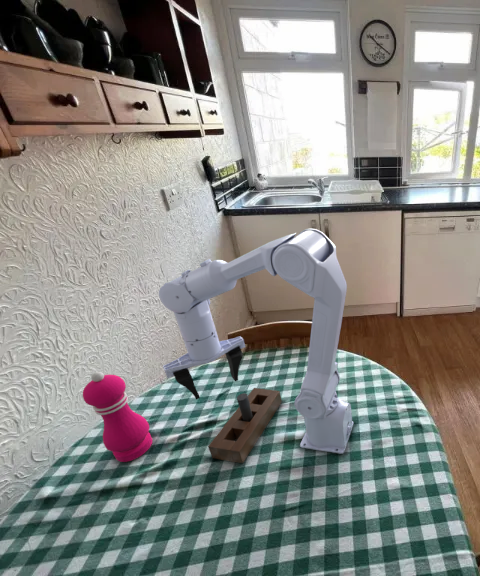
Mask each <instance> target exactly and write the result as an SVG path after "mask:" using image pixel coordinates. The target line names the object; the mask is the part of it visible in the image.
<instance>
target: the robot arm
mask: <svg viewBox="0 0 480 576" xmlns="http://www.w3.org/2000/svg"><path fill="white" fill-rule="evenodd" d="M199 266H200V267H197V268H195V269H193V270H191V269H187V270H185V271H182V272H181V274H180V276H178V277H176V278H174V279H172V280H170V281H167V282H165V283H164V284H163V285H162V286H161V287H160V288H159V290H158V297H159V300H160V302H161V304H162V305H163V306H164V307H165V308H166V309H167V310H169V311H171V312H172V313H173V315H174V317H175V320H176V323H177V326H178V329H179V332H180V335H181V338H182V340H183V343H184V347H185V349H186V353H184V354H183V355H181V356H179V357H178V358H176V359H174V360H172V361H171V362H169V363H166V364H163V365H162V369H163V371H164V373H165V377H166V378H167V379H170V378H173V377H174V378H175V381H176V382H177V383H178V384H179V385H180V386H183V387H184V388H185V389H187V390H188V391H189V392H190V393H191V394H192V395H193V396H194V398H195V400H198V399H200V398H201V397H200V394H199V392H198V390H197V388H196V386H195V383H194V382H195V381H194V380H193V377H192V374H191V372H190V370H189V369H190V368H193V367H197V366H201V365H206V364H210V363H212V362H214V361H216V360H217V359H219V358H220V357H222V356H224V355H225V357H226V360H227V363H228V367H229V372H230V375H231V378H232V380H233V381H234V382H238V381H239V370H240V366H241V362H242V360H243V358H244V354H243V351H242V350H241V349H244V348H246V344H245V339H244V338H243V337H242V336H241V335H240V336H236V337H234V338H229V339H225V340H224V339H223V340H220V339H219V336H218V331H217V329H216V325H215V322H214V319H213V315H212V312H211V311H212V310H211V308H210V305H211V299H214V298H216V297H218V296H221V295H222V294H225V293H228V292H230V291H232V290H234V288H235V287H236V285H237V283H238V280H240V279H242V278H245V277H248V276H250V275H253V274H255V273H258V272H262V271H264V270H266V271H267V272H268V273H269V274H270V275H271V276H272V277H276V276H277V275H278V276H279V277H280V278H281V280H283V281H285V282H287V284H290V285H291V286H293V287H295V288H296V289H298V290H300V291H301V292H303V293H304V294H305V295H308V296H309V297H310V298H313V299H314V301H313V310H312V319H311V330H310V338H309V347H308V358H307V366H306V372H305V375H304V378H303V380H302V383H301V385H300V386H301V387H300V392H299V394H298V395H297V396H296V397H295V399H294V407H295V410H296V411H297V412H298V413H299V415H300V416H302V417H303V420H304V426H305V433H304V435H303V437H302V440H301V442H300V444H299V447H300V448H302V449H309V450H314V451H320V452H321V451H322V452H328V453H333V454H339V455H343V454H344V453H345V451H346V447H347V445H348V442H349V439H350V437H351V432H352V429H353V427H354V421H353V415H352V413H353V412H352V405H351V403H350V402H347V401H344V400H341V399H340V398H339V396H338V394H337V387H338V385H339V384H340V380H341V375H340V373H339V370H338V364H339V363H338V362H337V361H336V360H337V353H338V347H339V342H340V334H341V328H342V322H343V316H344V311H345V310H344V309H345V303H346V297H347V290H348V285H347V284H348V283H347V281H346V278H345V275H344V272H343V270H342V267H341V265H340V263H339V260H338V256H337V247H336V245H335V244H334V243H333V242H332V240H331V239H330V238H329V237H328V236H327V235H326V234H325V233H324V232H322V231H321V230H320V229H317V228H305V229H303V230H302V231H300V232H299V234H298V235H297V232H295V233H291V234H290V233H289V234H287V235H284V236H282V237H278V238H276V239H274V240H271V241H269V242H267V243H265V244H263V245H261V246H259V247H257V248H255V249H253V250H250V251H249V252H247V253H245V254H242V255H241V256H239V257H236V258H235V259H233V260H231V261H229V262H227V261H225V260H222V259H214V260H211V258H208V259H206V260H204V261H202V262H200V263H199Z"/></svg>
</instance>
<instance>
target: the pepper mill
mask: <svg viewBox="0 0 480 576" xmlns="http://www.w3.org/2000/svg"><path fill="white" fill-rule="evenodd" d="M90 376H91V377H90V379H91V381H89V382H88V383H87V384H86V385H85V386H84V388H83V391H82V398H83V401H84V402H85V404H87V405H89V406H92V409H93V410H94V413H95V414H96V415H99V416H100V417H101V418H102V420H103V432H102V442H103V445H104V447H105V449H106V450H107V451H109V452H112V455H113V456H114V458H115V459H116V461H117V462H120V463H127V462H131V461H133V460H136V459H138V458H140V457H142V456H143V455H144V454H145V453H146V452H148V450H149V449H151V447H152V444H153V438H152V435H151V433H150V432H149V431H150V423H149V422H148V421H147V419H146V418H145V417H144V416H142V415H141V414H139V413H137V412H135V411H134V410H133V409H131V407H130V405H129V403H128V401H129V397H128V395H127V392H126V389H127V385H126V382H125V380H124V379H123V378H122V377H120V376H119V375H116V374H105V373H104V372H102V371H96V372H95V371H94V373H92V374H91V375H90Z"/></svg>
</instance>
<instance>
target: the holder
mask: <svg viewBox="0 0 480 576" xmlns="http://www.w3.org/2000/svg"><path fill="white" fill-rule="evenodd" d="M247 395H248V399H249V403H250V408H251V411H252V415H253V418H252V420H251V421H250V422H246V421H243V418H242V414H241V411H240V408H239V407H237V409H236V410H235V411H234V413H233V414H232V415H231V416H230V418H229V419H228V420H227V421H226V423H224V426H222V428H221V429H220V430H219V432H218V433H217V434H216V435H215V437H214V438H213V440H212V441H211V442H210V443H209V444H208V445H207V448H208V450H209V452H210V455H211V458H212V459H215V460H220V461H225V462H230V463H231V462H232V463H236V464H237V463H238V464H244V462H245V461H246V460H247V457H248V456H249V455H250V453H251V452H252V450H253V448H254V447H255V445H256V443H257V442H258V441H259V439H260V437H261V436H262V434H263V433H264V431H265V430H266V427H267V426H268V425H269V424H270V422H271V420H272V418H273V417H274V415H275V413H276V412H277V410H278V409H279V407H280V406H281V404H282V402H283V400H282V396H281V391H280V390H275V389H268V388H267V389H266V388H259V387H254V388H252V390H251V391H250V392H249V393H248V394H247Z"/></svg>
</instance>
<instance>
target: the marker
mask: <svg viewBox="0 0 480 576" xmlns="http://www.w3.org/2000/svg"><path fill="white" fill-rule="evenodd" d="M248 395H249V394H248V393H245V392H244V393H240V394H238V395H237V396H236V402H237V404H238V408H240V411H241V414H242V418H243V421H246V422H250V421H251V420H252V418H253V415H252V411H251V408H250V403H249V399H248Z"/></svg>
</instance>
